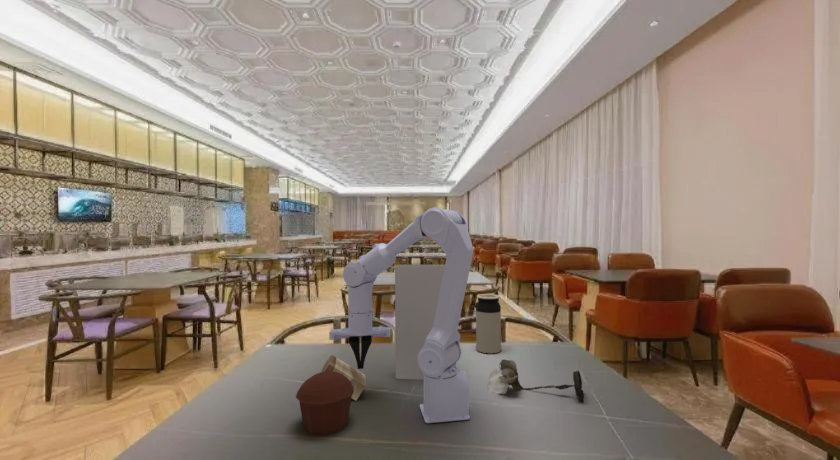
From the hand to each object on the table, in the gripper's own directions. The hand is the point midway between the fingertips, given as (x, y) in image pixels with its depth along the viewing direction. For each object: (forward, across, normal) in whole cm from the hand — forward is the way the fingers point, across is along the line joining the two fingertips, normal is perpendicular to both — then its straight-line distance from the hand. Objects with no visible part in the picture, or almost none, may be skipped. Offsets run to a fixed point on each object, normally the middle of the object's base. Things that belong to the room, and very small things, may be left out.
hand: (360, 367), depth 92 cm
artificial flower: (+7, -41, +7) cm, 42 cm away
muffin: (+7, +7, +13) cm, 16 cm away
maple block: (+5, 0, 0) cm, 5 cm away
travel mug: (+7, -42, -27) cm, 50 cm away
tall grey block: (+7, -17, -9) cm, 20 cm away
